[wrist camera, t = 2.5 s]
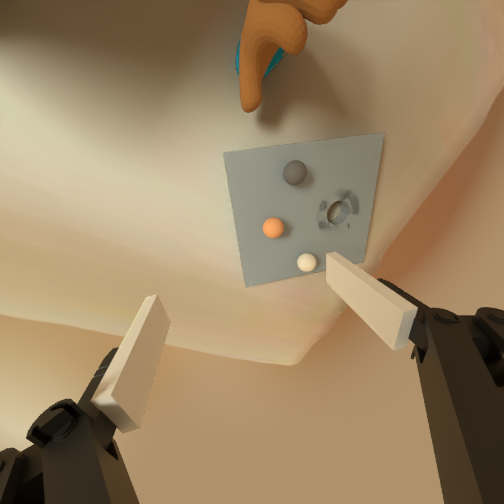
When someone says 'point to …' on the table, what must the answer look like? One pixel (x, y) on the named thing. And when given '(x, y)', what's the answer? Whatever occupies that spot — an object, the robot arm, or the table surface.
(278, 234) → the ball
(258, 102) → the toy
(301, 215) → the grey flat plate
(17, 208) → the table surface
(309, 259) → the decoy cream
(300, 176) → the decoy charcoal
